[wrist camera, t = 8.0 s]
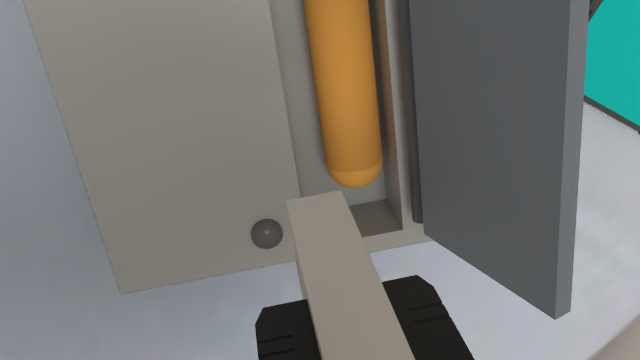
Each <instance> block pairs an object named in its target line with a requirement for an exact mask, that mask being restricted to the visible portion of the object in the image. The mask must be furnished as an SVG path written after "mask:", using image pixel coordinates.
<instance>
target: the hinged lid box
mask: <svg viewBox="0 0 640 360" xmlns="http://www.w3.org/2000/svg"><path fill="white" fill-rule="evenodd" d="M22 1H23V4H24V7H25V10H26V13H27V16H28V19H29V21H30V24H31V27H32V30H33V33H34V36H35V39H36V42H37V45H38V48H39V51H40V54H41V57H42V60H43V63H44V66H45V69H46V72H47V75H48V78H49V81H50V84H51V87H52V90H53V93H54V96H55V99H56V102H57V105H58V108H59V111H60V114H61V117H62V120H63V123H64V126H65V129H66V132H67V135H68V138H69V141H70V144H71V147H72V150H73V153H74V156H75V159H76V162H77V165H78V168H79V171H80V174H81V177H82V180H83V183H84V186H85V189H86V192H87V195H88V198H89V201H90V204H91V207H92V210H93V213H94V216H95V219H96V222H97V225H98V228H99V231H100V234H101V237H102V240H103V243H104V246H105V248H106V251H107V254H108V257H109V260H110V263H111V266H112V269H113V272H114V275H115V278H116V281H117V284H118V287H119V290H120V293H121V294H125V293H130V292H135V291H141V290H146V289H151V288H156V287H161V286H167V285H172V284H177V283H182V282H187V281H192V280H198V279H203V278H208V277H213V276H218V275H224V274H229V273H234V272H239V271H244V270H250V269H255V268H260V267H265V266H270V265H276V264H281V263H286V262H291V261H296V258H295V253H294V247H293V241H292V235H291V230H290V224H289V218H288V213H287V207H286V201H287V200H292V199H297V198H302V197H308V196H313V195H318V194H324V193H329V192H334V191H339V190H342V193H343V195H344V197H345V200H346V202H347V204H348V207H349V209H350V211H351V213H352V216H353V218H354V220H355V223H356V225H357V227H358V230H359V232H360V234H361V236H362V239H363V241H364V243H365V246H366V248H367V250H368V253H371V252H376V251H381V250H386V249H391V248H397V247H402V246H407V245H412V244H417V243H422V242H428V241H433V239H431V238H430V237H428V236H427V235H425V234H424V227H423V224H419V223H415V222H413V220H412V211H411V197H410V183H409V170H408V156H407V142H406V129H405V115H404V101H403V88H402V74H401V60H400V47H399V33H398V19H397V6H396V0H368V3H369V14H370V25H371V36H372V47H373V58H374V68H375V79H376V90H377V101H378V112H379V123H380V134H381V144H382V155H383V163H382V168H381V171H380V173H379V175H378V176H377V177H376V178H375V180H374V181H372V182H371V183H370V184H368V185H366V186H364V187H360V188H348V187H345V186H342V185H340V184H338V183H337V182H336V181H335V180H334V179H333V178H332V177H331V176H330V174H329V172H328V170H327V166H326V161H325V154H324V147H323V139H322V132H321V125H320V117H319V110H318V103H317V96H316V88H315V81H314V74H313V67H312V59H311V52H310V45H309V37H308V30H307V23H306V16H305V8H304V1H303V0H22Z"/></svg>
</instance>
